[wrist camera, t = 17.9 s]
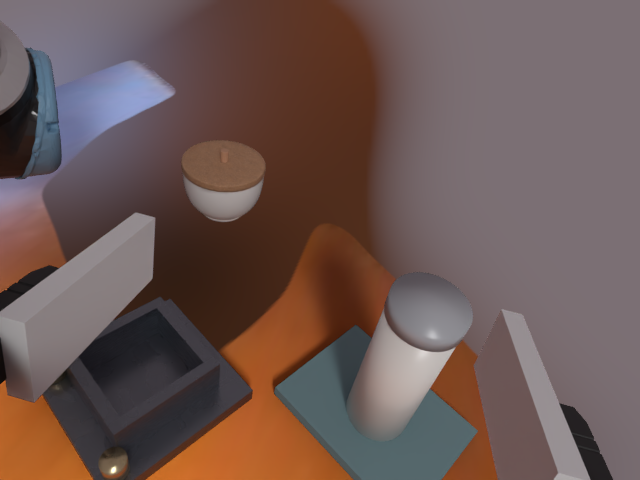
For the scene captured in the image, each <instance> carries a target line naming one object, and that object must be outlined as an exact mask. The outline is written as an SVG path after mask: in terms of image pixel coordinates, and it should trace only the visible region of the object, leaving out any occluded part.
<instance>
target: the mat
mask: <svg viewBox="0 0 640 480" xmlns="http://www.w3.org/2000/svg"><path fill="white" fill-rule="evenodd" d="M371 339H372V338H371V337H370V336H368V335H367V334H366V333H365V332H364V331H363V330H362V329H360V328H359V327H358V326H357V325H355V326H354V327H352V328H351V329H350V330H348V331H347V332H346V333H345V334H343V335H342V336H341V337H339V338H338V339H337V340H336V341H334V342H333V343H332V344H330V345H329V346H328V347H327V348H325V349H324V350H323V351H321V352H320V353H319V354H318V355H316V356H315V357H314V358H312V359H311V360H310V361H308V362H307V363H306V364H305V365H303V366H302V367H301V368H299V369H298V370H297V371H296V372H294V373H293V374H292V375H290V376H289V377H288V378H287V379H285V380H284V381H283V382H281V383H280V384H279V385H278V386H276V387H275V392H274V394H275V395H276V396H277V397H278V398H279V399H280V400H281V402H282V403H283V404H284V405H285V406H286V407H287V408H288V409H289V410H290V411H291V412H292V413H293V415H294V416H295V417H296V418H297V419H298V420H299V421H300V422H301V423H302V424H303V425H304V426H305V427H306V429H307V430H308V431H309V432H310V433H311V434H312V435H313V436H314V437H315V438H316V439H317V440H318V442H319V443H320V444H321V445H322V446H323V447H324V448H325V449H326V450H327V451H328V452H329V453H330V455H331V456H332V457H333V458H334V459H335V460H336V461H337V462H338V463H339V464H340V465H341V466H342V467H343V469H344V470H345V471H346V472H347V473H348V474H349V475H350V476H351V477H352V478H353V479H354V480H441V479H442V478H443V477H444V475H445V474H446V473H447V471H448V470H449V469H450V467H451V466H452V465H453V463H454V462H455V461H456V459H457V458H458V457H459V455H460V454H461V453H462V451H463V450H464V449H465V447H466V446H467V445H468V444H469V442H470V441H471V440H472V438H473V437H474V436H475V434H476V433H477V432H478V431H477V430H476V429H475V428H474V427H473V426H472V425H470V424H469V423H468V422H467V421H466V420H465V419H464V418H462V417H461V416H460V415H459V414H458V413H457V412H456V411H454V410H453V409H452V408H451V407H450V406H449V405H448V404H446V403H445V402H444V401H443V400H442V399H441V398H440V397H438V396H437V395H436V394H435V393H434V392H433V391H431V390H430V389H429V391H428V392H427V394H426V395H425V397H424V399H423V400H422V402H421V403H420V405H419V407H418V408H417V410H416V411H415V413H414V415H413V416H412V418H411V419H410V421H409V423H408V424H407V426H406V427H405V429H404V431H403V432H402V433H401V434H400V435H399V436H398V437H396V438H395V439H392V440H389V441H375V440H372V439H369V438H367V437H365V436H363V435H362V434H361V433H359V432H358V431H357V430H356V429H355V428H354V426H353V425H352V423H351V422H350V420H349V417H348V414H347V409H346V403H347V399H348V396H349V393H350V391H351V388H352V386H353V383H354V381H355V379H356V376H357V374H358V371H359V369H360V366H361V364H362V361H363V359H364V356H365V354H366V351H367V349H368V347H369V344H370V342H371Z"/></svg>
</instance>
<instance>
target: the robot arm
mask: <svg viewBox="0 0 640 480" xmlns="http://www.w3.org/2000/svg"><path fill="white" fill-rule="evenodd" d="M58 123H59V121H58V110H57V101H56V92H55V85H54V78H53V71H52V65H51V61H50V59H49V56H48V55H46V54H45V53H44V52H42V51H36V50H33V49H32V48H24V46H23V45H22V42H21V41H20V39H19V38H18V37H17V36H16V34H15V33H14V32H13V31H12V30H11V29H9V28H8V27H7V26H6V25H5V24H4V23H2V22H1V21H0V179H5V178H15V179H25V178H27V177H29V176H36V175H44V174H50V173H52V172H54V171H56V170H57V169H58V168H59V166H60V164H61V140H60V131H59V126H58ZM154 233H155V218H154V217H151V216H147V215H143V214H140V213H135V214H133V215H132V216H130V217H129V218H128V219H126V220H125V221H124V222H122V223H121V224H119V225H118V226H117V227H115V228H114V229H112V230H111V231H110V232H108V233H107V234H106V235H104V236H103V237H102V238H100V239H99V240H97V241H96V242H95V243H93V244H92V245H91V246H89V247H88V248H87V249H85V250H84V251H83V252H81V253H80V254H78V255H77V256H75V257H74V258H73V259H71V260H70V261H69V262H67V263H66V264H65V265H63V266H62V267H60V268H57V267H53V266H50V265H49V266H46V267H44V268H41V269H38V270H35V271H32V272H31V273H29V274H28V275H26V276H25V277H23V278H22V279H20V280H19V281H18V283H15V284H13V285H12V286H10V287H9V288H7V291H6V290H4V291H3V292H1V293H0V384H1V383H2V382H3V381H4V380H6V387H7V393H8V395H10V396H13V397H17V398H20V399H23V400H27V401H30V402H35V401H36V400H37V399H38V398H39V397H40V396H41V395H42V394H43V393H44V392H45V391H46V390H47V389H48V388H49V386H50V385H51V384H52V383H53V382H54V381H55V380H56V379H57V378H58V377H59V376H60V375H61V374H62V373H63V372H64V371H65V370H66V369H67V368H68V367H69V366H70V365H71V363H72V362H73V361H74V360H75V359H76V358H77V357H78V356H79V355H80V354H81V353H82V352H83V351H84V350H85V349H86V348H87V347H88V346H89V345H90V344H91V343H92V341H93V340H94V339H95V338H96V337H97V336H98V335H99V334H100V333H101V332H102V331H103V330H104V329H105V328H106V327H107V326H108V325H109V324H110V323H111V322H112V321H113V319H114V318H115V317H116V316H117V315H118V314H119V313H120V312H121V311H122V310H123V309H124V308H125V307H126V306H127V305H128V304H129V303H130V302H131V301H132V299H133V298H135V296H136V295H137V294H138V293H139V292H140V291H141V290H142V289H143V288H144V287H145V286H146V285H147V284H148V283H149V282H150V281H151V280H152V278H153V255H154ZM474 368H475V373H476V378H477V383H478V387H479V392H480V397H481V401H482V406H483V411H484V416H485V420H486V425H487V430H488V435H489V439H490V444H491V449H492V454H493V458H494V463H495V468H496V472H497V477H498V480H613V479H612V476H611V474H610V472H609V470H608V468H607V465H606V463H605V461H604V459H603V457H602V455H601V454H600V451H599V448H598V446H597V444H596V442H595V441H594V437H593V435H592V433H591V431H590V429H589V426H588V424H587V422H586V421H585V420H584V419H583V418H582V416H581V415H580V414H579V413H578V412H577V411H576V409H575V408H573V407H570V406H567V405H563V404H560V403H559V402H558V400H557V397H556V395H555V392H554V390H553V387H552V385H551V383H550V380H549V378H548V375H547V373H546V370H545V368H544V366H543V363H542V361H541V358H540V356H539V353H538V351H537V349H536V346H535V344H534V341H533V339H532V337H531V334H530V332H529V329H528V327H527V324H526V322H525V320H524V317H523V315H522V314H518V313H515V312H510V311H507V310H503V309H501V311H500V313H499V315H498V317H497V319H496V321H495V323H494V326H493V328H492V330H491V332H490V334H489V336H488V338H487V340H486V342H485V344H484V346H483V348H482V350H481V352H480V355H479V356H478V358H477V360H476V362H475V365H474Z"/></svg>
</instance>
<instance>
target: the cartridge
mask: <svg viewBox="0 0 640 480" xmlns="http://www.w3.org/2000/svg"><path fill="white" fill-rule="evenodd" d="M472 320H473V312H472V308H471V305H470V303H469V301H468V299H467V298H466V296H465V295H464V294H463V293H462V292H461V291H460V290H459V289H458V288H457V287H456V286H455V285H453V284H452V283H450V282H449V281H447V280H445V279H443V278H441V277H439V276H436V275H433V274H429V273H422V272H416V273H415V272H414V273H408V274H405V275H403V276H401V277H399V278H398V279H397V280H395V282H394V283H393V284H392V286H391V289H390V291H389V294H388V296H387V299H386V301H385V305H384V310H383V312H382V315H381V317H380V319H379V322H378V324H377V327H376V329H375V332H374V334H373V337H372V339H371V342H370V344H369V347H368V349H367V351H366V354H365V356H364V359H363V361H362V364H361V366H360V369H359V371H358V374H357V376H356V379H355V381H354V383H353V386H352V388H351V391H350V393H349V396H348V399H347V403H346V409H347V414H348V417H349V420H350V422H351V423H352V425H353V426H354V428H355V429H356V430H357V431H358V432H359V433H361V434H362V435H363V436H365V437H367V438H369V439H372V440H375V441H389V440H392V439H395V438H396V437H398V436H399V435H400V434H401V433H402V432H403V431H404V429H405V427H406V426H407V424H408V423H409V421H410V419H411V418H412V416H413V415H414V413H415V411H416V410H417V408H418V407H419V405H420V403H421V402H422V400H423V399H424V397H425V395H426V394H427V392H428V391H429V389H430V387H431V386H432V384H433V383H434V381H435V379H436V378H437V376H438V375H439V373H440V371H441V370H442V368H443V367H444V365H445V363H446V362H447V360H448V359H449V357H450V355H451V354H452V352H453V351H454V349H455V347H456V346H457V345H458V344H459V343H460V342H461V341H462V339H463V337H464V336H465V334H466V333H467V331H468V329H469V327H470V326H471V324H472Z"/></svg>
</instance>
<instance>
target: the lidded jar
mask: <svg viewBox="0 0 640 480" xmlns="http://www.w3.org/2000/svg"><path fill="white" fill-rule="evenodd" d="M181 167H182V172H183V183H184V188H185V190H186V194H187V197H188V198H189V200H190V202H191V204H192V205H193V206H194V207H195V208H196V209H197V210H198V211H199V212H201V213H202V214H203V215H205V216H206V217H207V218H209V219H211V220H214V221H218V222H229V221H234V220H236V219H238V218H240V217H241V216H242V215H244V214H246V213H247V212H248V211H249V210H250V209H251V208H252V207H253V206H254V205H255V203H256V202H257V200H258V198H259V196H260V193H261V189H262V186H263V179H264V174H265V167H266V165H265V161H264V159H263V158H262V156H261V155H260V154H259V153H258V152H257V151H255V150H254V149H252V148H251V147H248V146H246V145H244V144H241V143H237V142H232V141H222V140H215V141H206V142H202V143H199V144H196V145H194V146H192V147H191V148H189V149H188V150H187V151H186V152H185V153H184V155H183V156H182V160H181Z"/></svg>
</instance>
